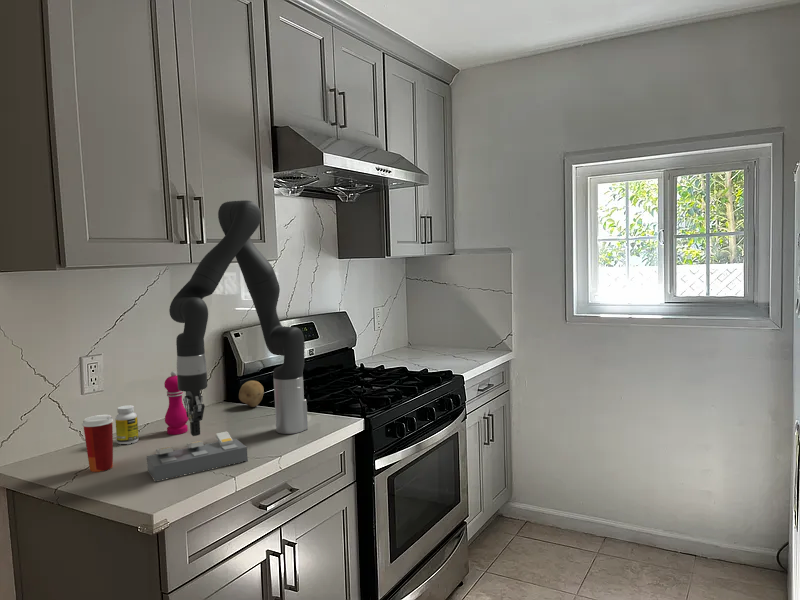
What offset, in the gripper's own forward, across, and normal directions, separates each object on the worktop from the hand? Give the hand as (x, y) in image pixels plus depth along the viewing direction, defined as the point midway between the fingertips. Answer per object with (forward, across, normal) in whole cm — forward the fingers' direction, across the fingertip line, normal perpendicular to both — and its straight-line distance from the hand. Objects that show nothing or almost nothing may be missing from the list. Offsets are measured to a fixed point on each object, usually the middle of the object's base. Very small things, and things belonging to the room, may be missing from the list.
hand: (195, 434), depth 164 cm
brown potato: (+8, +52, -33) cm, 62 cm away
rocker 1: (+3, +2, +8) cm, 9 cm away
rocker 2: (+3, +2, -8) cm, 9 cm away
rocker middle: (+3, +2, 0) cm, 4 cm away
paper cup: (+9, +15, +22) cm, 28 cm away
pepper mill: (+8, +37, -3) cm, 38 cm away
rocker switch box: (+8, 0, 0) cm, 9 cm away
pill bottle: (+9, +36, +12) cm, 39 cm away
